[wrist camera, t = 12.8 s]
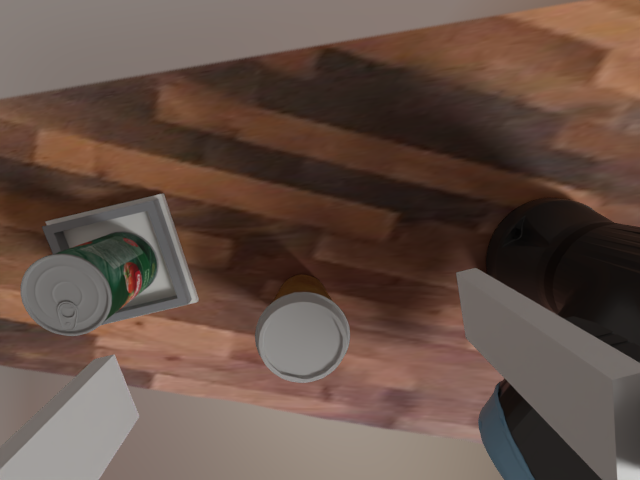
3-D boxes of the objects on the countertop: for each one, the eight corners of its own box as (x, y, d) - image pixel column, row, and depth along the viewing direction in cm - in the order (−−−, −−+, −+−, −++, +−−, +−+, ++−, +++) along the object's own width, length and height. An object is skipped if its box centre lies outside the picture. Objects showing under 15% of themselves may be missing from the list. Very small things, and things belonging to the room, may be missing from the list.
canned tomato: (91, 228, 41) (16, 250, 30) (159, 234, 42) (109, 257, 31) (93, 291, 43) (22, 333, 32) (158, 296, 43) (111, 339, 32)
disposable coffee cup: (250, 297, 45) (232, 344, 33) (302, 247, 44) (303, 277, 32) (302, 344, 47) (302, 404, 35) (353, 297, 45) (371, 342, 34)
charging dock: (163, 193, 41) (155, 195, 39) (198, 299, 44) (193, 307, 42) (50, 220, 41) (34, 223, 39) (92, 325, 44) (80, 334, 42)
